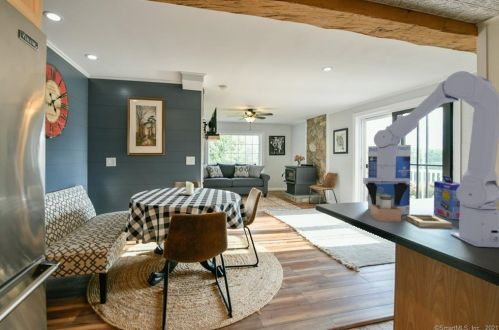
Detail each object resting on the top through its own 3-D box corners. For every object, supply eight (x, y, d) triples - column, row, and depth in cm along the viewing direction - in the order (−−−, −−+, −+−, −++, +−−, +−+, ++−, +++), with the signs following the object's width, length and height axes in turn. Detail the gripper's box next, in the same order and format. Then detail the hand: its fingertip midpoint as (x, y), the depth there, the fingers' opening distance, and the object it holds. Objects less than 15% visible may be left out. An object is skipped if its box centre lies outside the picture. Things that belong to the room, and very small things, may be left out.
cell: (393, 218, 85) (393, 194, 85) (381, 217, 86) (382, 194, 86) (388, 215, 89) (388, 193, 89) (377, 215, 89) (378, 193, 89)
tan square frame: (451, 228, 76) (452, 221, 76) (419, 227, 77) (420, 221, 77) (434, 220, 85) (434, 214, 85) (405, 219, 86) (405, 213, 86)
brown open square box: (400, 221, 83) (401, 209, 83) (378, 220, 84) (378, 209, 84) (391, 216, 91) (391, 205, 90) (370, 215, 91) (370, 204, 91)
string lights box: (410, 214, 93) (412, 144, 92) (396, 216, 90) (397, 144, 89) (379, 207, 105) (381, 145, 104) (366, 208, 102) (367, 145, 101)
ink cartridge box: (432, 212, 95) (433, 174, 95) (447, 212, 95) (449, 174, 94) (450, 219, 86) (451, 177, 85) (467, 219, 85) (469, 177, 84)
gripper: (403, 165, 89) (402, 202, 90) (360, 165, 91) (360, 201, 92) (413, 166, 83) (412, 206, 83) (367, 166, 84) (366, 205, 85)
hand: (385, 204), depth 87 cm, fingers open, 7 cm apart
